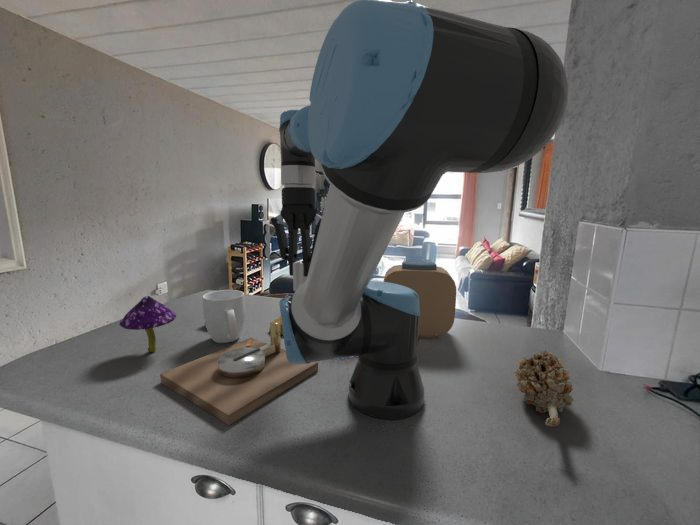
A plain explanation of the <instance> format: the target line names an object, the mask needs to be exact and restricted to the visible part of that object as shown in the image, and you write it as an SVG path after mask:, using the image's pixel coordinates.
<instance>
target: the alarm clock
mask: <svg viewBox="0 0 700 525" xmlns="http://www.w3.org/2000/svg"><path fill="white" fill-rule="evenodd" d="M382 282H388V283H394V284H398V285H402V286H405V287H408V288H410V289H412V290H414V291H415V292H416V293H417V294H418V296H419V306H420V316H419V329H418V339H419V338H420V339H421V338H422V339H437V336H442V335H445V334H446V333H448V332H449V331H450V330H451V329H452V328H453V325H454V323H455V318H456V317H455V316H456V306H457V305H456V304H457V286H456V282H455V280H454V278H452V276H451V275H450V273H449V272H448V271H447V269H445V268H444V267H442V266H437V264H436V262H429V261H402V262H401V264H399V265H393V266H391V267H390V268H388V269H387V271H386V272H385V274H384V277H383V281H382Z"/></svg>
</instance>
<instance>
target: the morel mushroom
mask: <svg viewBox="0 0 700 525" xmlns="http://www.w3.org/2000/svg"><path fill="white" fill-rule="evenodd" d="M517 362H518V365H517V367H518V369H517V368H516V369H517V370H516V371H515V372H514V376H515V377H516V380H517V381H518V382H517V383H516V386H517V387H518V391H519V392H521V393H524V394H523V395H524V397H523V398H524V400H525V401H526V403H527V404H530V405H533V406H535V412H539V414H544V413H546V412H548V415H549V417H547V419H546V420H545V426H549V427H557V426H559V424H560V423H561V422H560V421H561V417H559V414H558V411H559V412H560V413H562V412H563V408H564V407H566V406H567V407H568V406H571V405H573V403H572V402H574V401H575V399H574V397H573V396H571V395H570V394H571V393H572V391H573V390H574V388H573V383H572V382H570V381H569V380H570V379H571V375H570V373H569V369H565V368H564V364H563V361H562V359H560V358H558V357H556V355H555V354H554V353H552V352H550V351H548V350H543V351H542V350H541V351H540V352H539V353H533V356H531V357H530V358H526V357H524V356H523V357H522V358H521V359H519V361H517Z"/></svg>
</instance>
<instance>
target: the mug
mask: <svg viewBox="0 0 700 525" xmlns="http://www.w3.org/2000/svg"><path fill="white" fill-rule="evenodd" d="M202 308H203V318H204V325H205V324H206V326H205V328H206V327H207V328H206V330H207V332H208V336H210V338H211V339H212V340H213V342H215V343H218V344H228V343H231V342H235V341H236V340H238V339H239V338H240V336H241V334H242V332H243V329H244V326H245V321H246V320H245V319H246V301H245V293H244V292H243V291H241V290H237V289H222V290H214V291H209V292H207V293H204V294H203V295H202Z"/></svg>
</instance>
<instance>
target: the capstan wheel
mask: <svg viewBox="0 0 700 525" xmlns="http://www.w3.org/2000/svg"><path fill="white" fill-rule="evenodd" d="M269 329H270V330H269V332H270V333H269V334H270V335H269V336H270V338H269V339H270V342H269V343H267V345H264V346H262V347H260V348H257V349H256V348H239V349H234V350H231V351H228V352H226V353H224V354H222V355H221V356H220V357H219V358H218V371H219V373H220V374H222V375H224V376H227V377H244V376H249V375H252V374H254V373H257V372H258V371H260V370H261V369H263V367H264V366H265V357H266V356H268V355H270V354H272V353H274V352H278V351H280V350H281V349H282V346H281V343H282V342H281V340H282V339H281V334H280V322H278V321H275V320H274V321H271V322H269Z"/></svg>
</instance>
